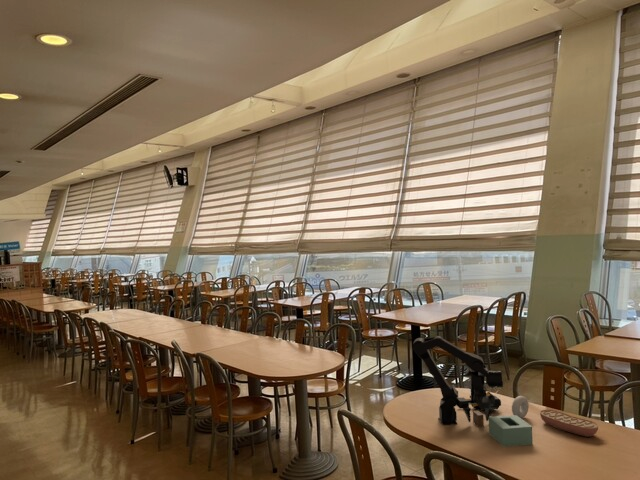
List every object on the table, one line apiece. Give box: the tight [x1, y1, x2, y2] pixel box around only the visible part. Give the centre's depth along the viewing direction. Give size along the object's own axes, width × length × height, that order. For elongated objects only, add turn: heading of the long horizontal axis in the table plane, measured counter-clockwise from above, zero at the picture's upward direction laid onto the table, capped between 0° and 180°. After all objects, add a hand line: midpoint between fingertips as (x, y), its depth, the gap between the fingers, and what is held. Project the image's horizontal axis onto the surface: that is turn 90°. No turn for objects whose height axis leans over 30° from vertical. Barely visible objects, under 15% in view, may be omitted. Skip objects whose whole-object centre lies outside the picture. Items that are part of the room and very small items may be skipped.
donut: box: [511, 395, 530, 420], centre depth 208 cm, size 10×4×10 cm, turn 124°
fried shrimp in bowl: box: [465, 391, 500, 412], centre depth 220 cm, size 9×11×18 cm
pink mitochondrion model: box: [539, 409, 599, 438], centre depth 195 cm, size 23×10×5 cm, turn 35°
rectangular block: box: [472, 410, 485, 428], centre depth 203 cm, size 2×5×5 cm, turn 6°
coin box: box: [488, 414, 534, 448], centre depth 188 cm, size 12×12×7 cm
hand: (478, 421), depth 203 cm, fingers open, 8 cm apart
